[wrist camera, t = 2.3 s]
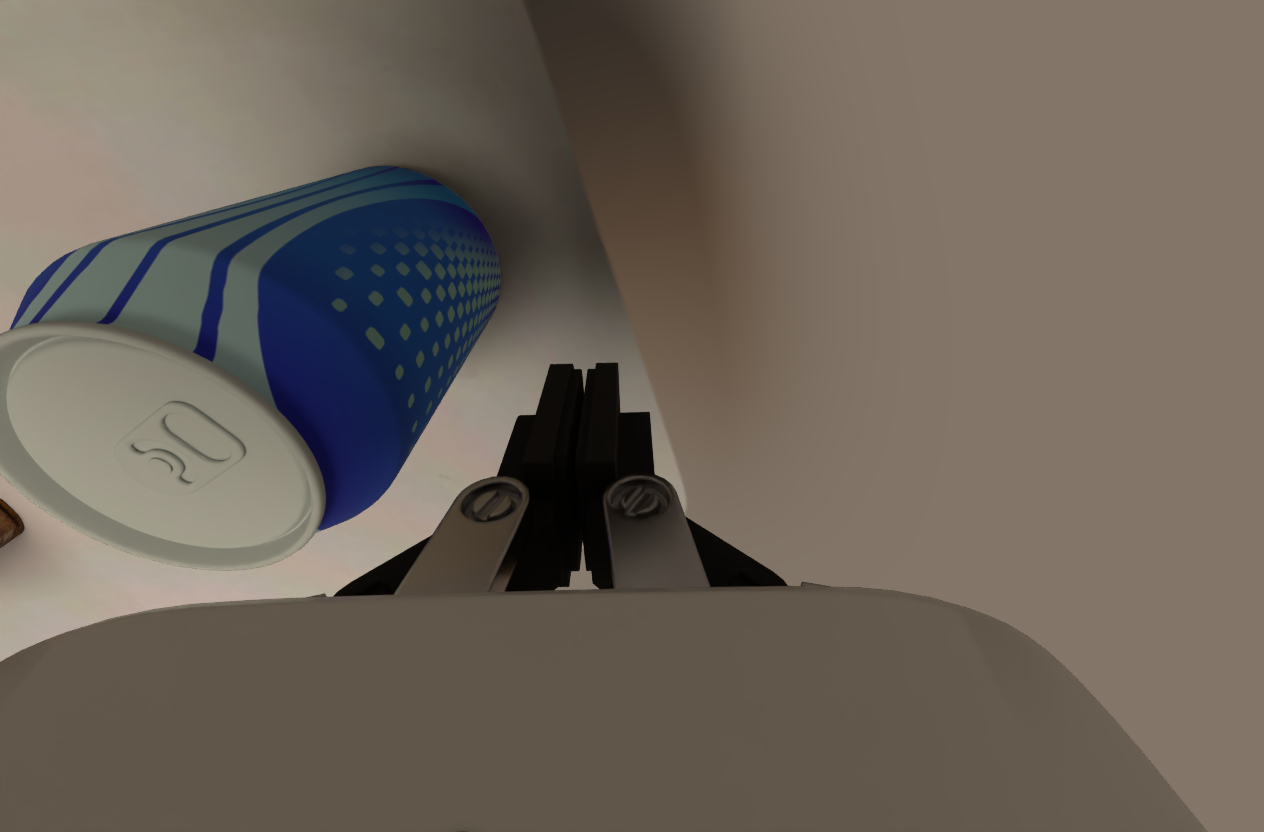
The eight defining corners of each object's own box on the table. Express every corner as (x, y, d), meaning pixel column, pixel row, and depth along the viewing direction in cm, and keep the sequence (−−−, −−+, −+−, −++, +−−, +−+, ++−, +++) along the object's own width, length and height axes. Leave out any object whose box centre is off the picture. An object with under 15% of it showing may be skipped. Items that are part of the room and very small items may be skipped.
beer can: (508, 345, 26) (389, 604, 13) (347, 328, 25) (45, 584, 12) (504, 175, 21) (313, 304, 8) (308, 149, 21) (-249, 243, 7)
